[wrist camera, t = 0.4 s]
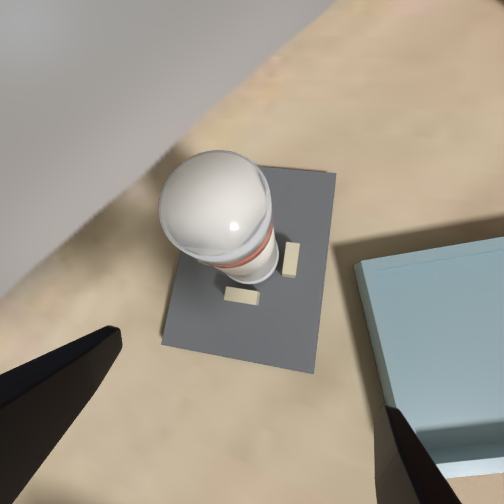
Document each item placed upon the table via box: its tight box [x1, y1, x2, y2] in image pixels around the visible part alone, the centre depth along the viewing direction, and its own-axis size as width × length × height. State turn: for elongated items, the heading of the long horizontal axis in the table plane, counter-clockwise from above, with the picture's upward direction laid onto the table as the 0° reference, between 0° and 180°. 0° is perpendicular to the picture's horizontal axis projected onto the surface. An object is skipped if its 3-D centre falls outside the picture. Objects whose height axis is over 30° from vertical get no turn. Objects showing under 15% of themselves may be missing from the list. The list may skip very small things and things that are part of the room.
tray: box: [353, 237, 504, 478], centre depth 19 cm, size 14×14×2 cm
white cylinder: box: [159, 150, 279, 285], centre depth 17 cm, size 5×5×12 cm
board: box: [161, 166, 336, 374], centre depth 23 cm, size 16×12×3 cm
